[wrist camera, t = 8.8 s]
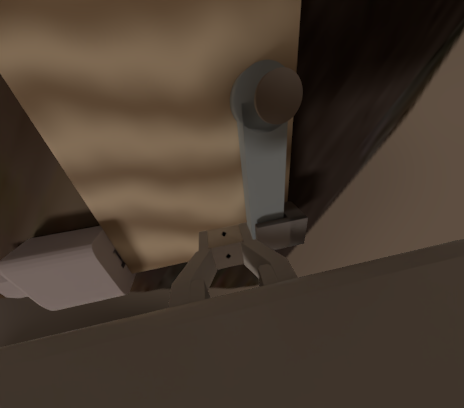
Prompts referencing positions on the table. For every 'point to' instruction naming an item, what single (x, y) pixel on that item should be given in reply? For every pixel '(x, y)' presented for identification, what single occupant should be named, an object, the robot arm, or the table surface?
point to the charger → (65, 269)
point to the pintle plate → (154, 110)
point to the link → (259, 149)
